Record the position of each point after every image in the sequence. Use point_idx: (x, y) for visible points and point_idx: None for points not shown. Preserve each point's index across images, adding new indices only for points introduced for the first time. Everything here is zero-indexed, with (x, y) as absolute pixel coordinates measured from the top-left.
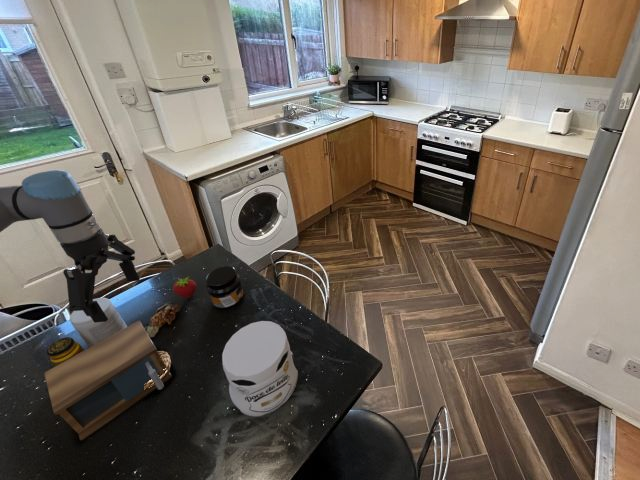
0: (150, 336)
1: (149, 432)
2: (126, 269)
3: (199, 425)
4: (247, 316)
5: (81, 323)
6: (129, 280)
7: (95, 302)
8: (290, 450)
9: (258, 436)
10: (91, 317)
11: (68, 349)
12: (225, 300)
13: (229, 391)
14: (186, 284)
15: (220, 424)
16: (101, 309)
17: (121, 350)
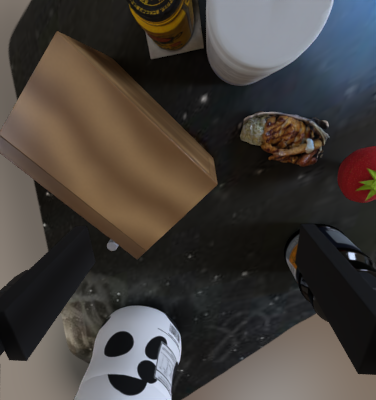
0: (241, 134)
1: (83, 219)
2: (337, 298)
3: (97, 271)
4: (261, 284)
5: (209, 14)
6: (302, 234)
7: (20, 356)
8: (85, 350)
9: (93, 326)
10: (59, 243)
11: (146, 20)
12: (292, 272)
13: (111, 326)
14: (366, 191)
15: (100, 291)
16: (63, 304)
17: (130, 193)
